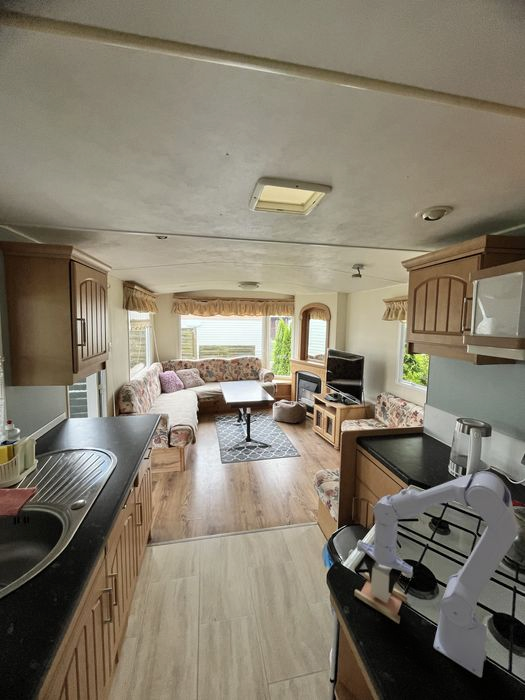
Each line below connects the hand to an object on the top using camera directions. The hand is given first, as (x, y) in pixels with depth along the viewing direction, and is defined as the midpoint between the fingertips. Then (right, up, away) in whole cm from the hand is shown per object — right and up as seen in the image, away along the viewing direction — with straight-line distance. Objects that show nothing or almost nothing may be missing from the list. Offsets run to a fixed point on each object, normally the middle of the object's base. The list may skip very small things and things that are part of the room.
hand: (381, 585), depth 84 cm
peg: (0, -3, 0) cm, 3 cm away
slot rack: (+2, -4, +3) cm, 6 cm away
